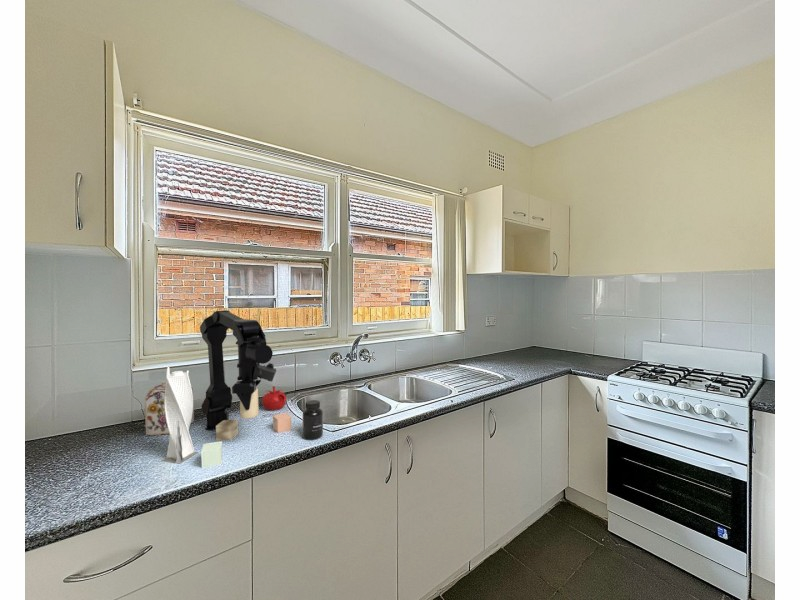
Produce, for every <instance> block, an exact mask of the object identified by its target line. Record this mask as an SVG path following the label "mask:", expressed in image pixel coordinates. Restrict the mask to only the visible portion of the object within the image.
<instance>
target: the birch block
mask: <svg viewBox="0 0 800 600" xmlns="http://www.w3.org/2000/svg"><path fill="white" fill-rule="evenodd" d="M237 435H239V424H238V420H237V419H235V420H234V419H229V420H223V421H222V422H221V423H219V424H218V425H216V429H215V440H216V441H232V440H233V439H234V438H235V437H236V436H237Z"/></svg>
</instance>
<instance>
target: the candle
mask: <svg viewBox="0 0 800 600" xmlns="http://www.w3.org/2000/svg"><path fill="white" fill-rule="evenodd" d="M256 388H257V389H256V390H255V392H253V393H252V396H251V403H250V409H249V410H245V408H244V406H243V404H242V402H241V401H240V400H239V412H240V413H239V415H240V418H241V419H246V420H247V419H248V420H249V419H253V418H255V417H258V416H259V389H258V387H256Z"/></svg>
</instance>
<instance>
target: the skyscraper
mask: <svg viewBox="0 0 800 600" xmlns="http://www.w3.org/2000/svg"><path fill="white" fill-rule="evenodd" d="M170 372H171V371H170V366H167V367H166V378H165V379H166V380H167V382H166V388H165V399H164V407H165V416H166V422H167V426H168V430H169V433H170V434H169V440H168V447H167V452H166V457H164V458H162V459H161V460H160V461H161V462H166V463H170V464H171V463H173V464H178V465H180V464H182V463H184V462H186V461H187V460H189V459H191V458H192V457H195V456H196V455H198V454H199V452H198V451H195V448H194V444H193V441H192V438H191V434H190V431H189V430H190V426H191V424H190V422H191V418H192V411H193V405H194V393H193V394H192V388H193V387H192V384H191V380H190V376H189V373H190V371H189V370H186V372H183V370H175V371H172V372H171V373H170ZM191 387H192V388H191Z"/></svg>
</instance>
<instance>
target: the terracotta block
mask: <svg viewBox="0 0 800 600" xmlns="http://www.w3.org/2000/svg"><path fill="white" fill-rule="evenodd" d="M292 429H293V428H292V415H290V414H289V413H288V412H283V413H278V414H274V415H272V430H274V431H275V433H277V434H280V433H284V432H288V431H291V430H292Z"/></svg>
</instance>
